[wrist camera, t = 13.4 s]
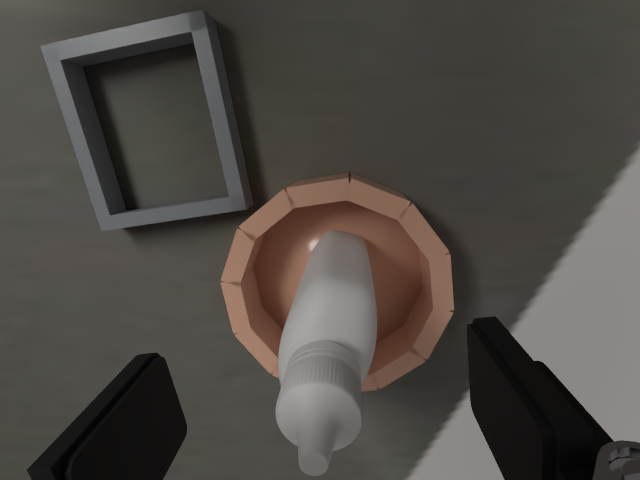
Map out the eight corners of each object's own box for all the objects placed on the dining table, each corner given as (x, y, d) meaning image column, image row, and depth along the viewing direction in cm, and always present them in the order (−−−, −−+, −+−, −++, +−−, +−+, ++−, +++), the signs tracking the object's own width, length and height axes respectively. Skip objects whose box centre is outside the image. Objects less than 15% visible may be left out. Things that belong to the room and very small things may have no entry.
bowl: (225, 191, 20) (200, 201, 16) (426, 160, 18) (444, 162, 15) (264, 362, 23) (249, 400, 19) (441, 345, 21) (459, 383, 18)
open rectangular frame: (64, 53, 18) (40, 45, 17) (215, 20, 17) (202, 9, 16) (118, 225, 21) (101, 231, 19) (254, 205, 20) (246, 209, 18)
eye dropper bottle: (397, 268, 19) (472, 456, 8) (328, 331, 20) (301, 570, 9) (341, 215, 19) (328, 328, 7) (274, 283, 20) (170, 471, 8)
